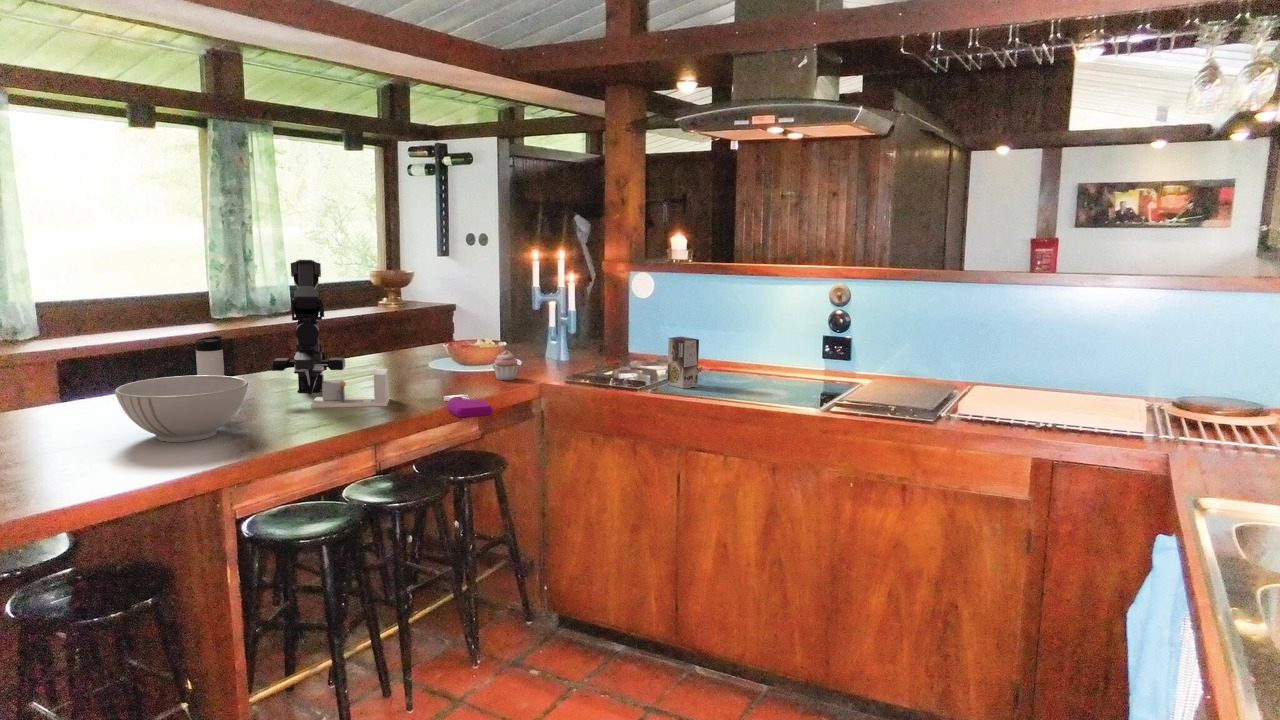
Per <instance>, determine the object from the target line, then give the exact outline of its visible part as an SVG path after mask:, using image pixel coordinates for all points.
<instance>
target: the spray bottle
mask: <svg viewBox="0 0 1280 720" xmlns="http://www.w3.org/2000/svg"><path fill="white" fill-rule="evenodd" d="M443 401H444V402H447V403H446V408H447V410H448V412H449V413H450V414H452V415H454V416H456V417H457V418H458V419H459V418H461V419H464V418H465V419H466V418H478V417H480V418H481V417H489V416H492V414H493V412H494V409H493V408H492V406H491V404H490V403H488V402H487V401H485V400H482V399H471V398H469V395H468V394H454V395H453V394H452V395H445V396H443Z"/></svg>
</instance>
